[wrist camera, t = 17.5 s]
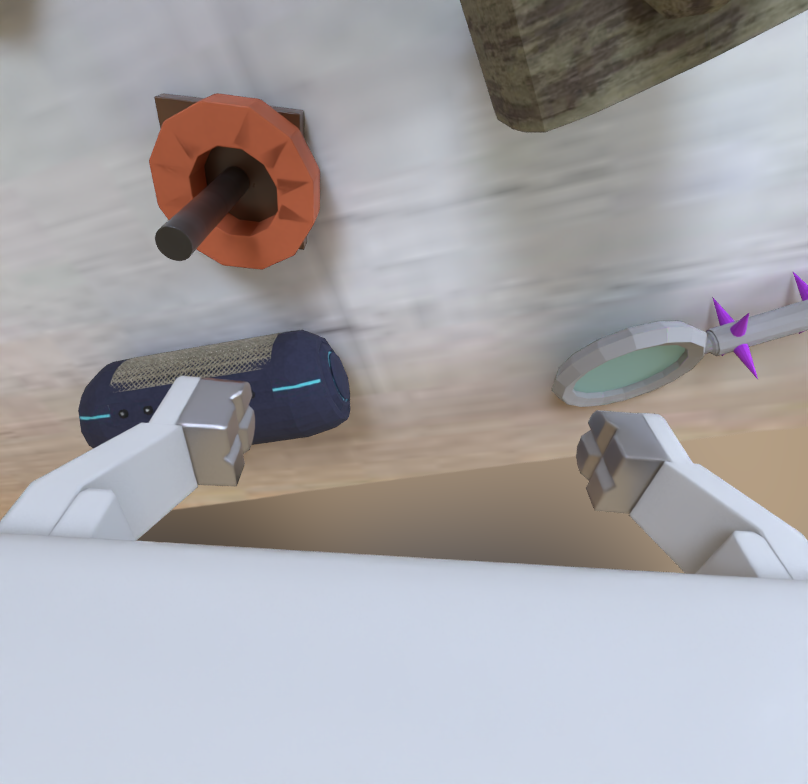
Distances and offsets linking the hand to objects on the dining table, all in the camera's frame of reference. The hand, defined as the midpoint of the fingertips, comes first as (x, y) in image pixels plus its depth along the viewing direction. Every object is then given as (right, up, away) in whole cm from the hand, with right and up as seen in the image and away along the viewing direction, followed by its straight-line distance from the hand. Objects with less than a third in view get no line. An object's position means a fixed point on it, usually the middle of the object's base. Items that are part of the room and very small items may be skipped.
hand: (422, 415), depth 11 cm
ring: (-13, +17, +25) cm, 32 cm away
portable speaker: (-18, +3, +38) cm, 42 cm away
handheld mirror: (+28, +7, +34) cm, 45 cm away
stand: (-13, +18, +26) cm, 34 cm away
